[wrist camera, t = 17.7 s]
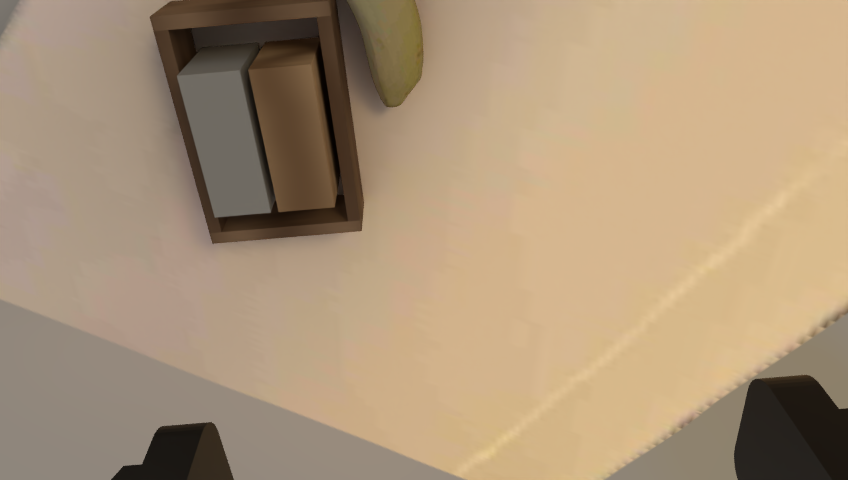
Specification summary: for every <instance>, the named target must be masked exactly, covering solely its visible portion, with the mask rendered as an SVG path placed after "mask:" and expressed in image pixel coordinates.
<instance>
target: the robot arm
mask: <svg viewBox="0 0 848 480" xmlns="http://www.w3.org/2000/svg"><path fill="white" fill-rule="evenodd" d="M734 461H735V470H736V474H737V478H738V480H848V408H847V409H838V407H837V406H836V405H835V403H834V402H833V401H832V399H831V398H830V397H829V395H828V394H827V393H826V392H825V390H824V389H823V388H822V386H821V385H820V384H819V383H818V382H817V381H816V380H815V379H814V378H813V377H811V376H808V375H798V376H787V377H774V378H762V379H755V380H753V381H752V382H751V383H750V385H749V388H748V392H747V397H746V401H745V406H744V410H743V414H742V419H741V423H740V428H739V432H738V436H737V441H736V445H735V451H734ZM111 480H234V479H233V476H232V473H231V470H230V467H229V464H228V460H227V458H226V454H225V451H224V448H223V445H222V442H221V439H220V436H219V433H218V430H217V428H216V426H215V425H214V424H213V423H212V422H209V423H196V424H185V425H172V426H162V427H160V428H159V429H158V430H157V431H156V433H155V434H154V437H153V439H152V441H151V444H150V446H149V449H148V451H147V454H146V456H145V459H144V461H143V464H142V465H131V466H123V467H122V468H121V470H120V471H119V472H118V473H117V474H116V475H115V476H114V477H113V478H112V479H111Z"/></svg>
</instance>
